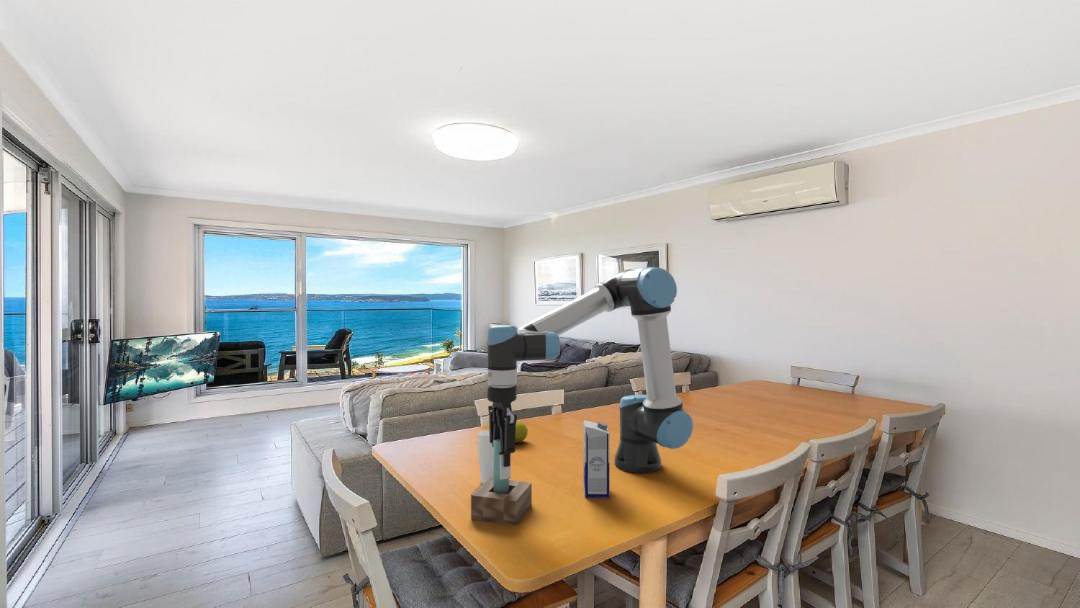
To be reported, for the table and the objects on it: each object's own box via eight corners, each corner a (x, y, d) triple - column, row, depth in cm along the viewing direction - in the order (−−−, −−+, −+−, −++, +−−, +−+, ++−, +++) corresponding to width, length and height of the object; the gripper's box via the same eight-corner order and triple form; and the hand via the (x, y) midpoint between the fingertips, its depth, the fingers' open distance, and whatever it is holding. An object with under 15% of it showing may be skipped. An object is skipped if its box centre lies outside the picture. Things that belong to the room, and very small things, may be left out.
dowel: (511, 492, 124) (511, 439, 124) (505, 499, 120) (505, 443, 120) (496, 491, 125) (496, 438, 125) (490, 497, 121) (491, 442, 121)
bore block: (531, 505, 127) (531, 482, 127) (516, 525, 115) (516, 501, 115) (490, 499, 130) (490, 477, 130) (471, 518, 119) (471, 495, 119)
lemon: (520, 437, 188) (520, 417, 188) (533, 442, 182) (533, 421, 182) (498, 443, 181) (498, 422, 181) (511, 448, 175) (511, 426, 175)
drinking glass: (491, 488, 138) (491, 437, 138) (473, 483, 141) (473, 433, 141) (505, 481, 144) (505, 431, 143) (487, 476, 147) (487, 428, 147)
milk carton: (583, 487, 138) (583, 419, 138) (606, 487, 138) (606, 419, 138) (585, 497, 131) (585, 425, 131) (609, 498, 131) (609, 426, 131)
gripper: (477, 381, 128) (476, 467, 128) (501, 392, 113) (501, 489, 114) (502, 379, 132) (502, 463, 132) (529, 389, 117) (529, 484, 117)
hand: (501, 475), depth 123 cm, fingers closed on dowel, 4 cm apart
